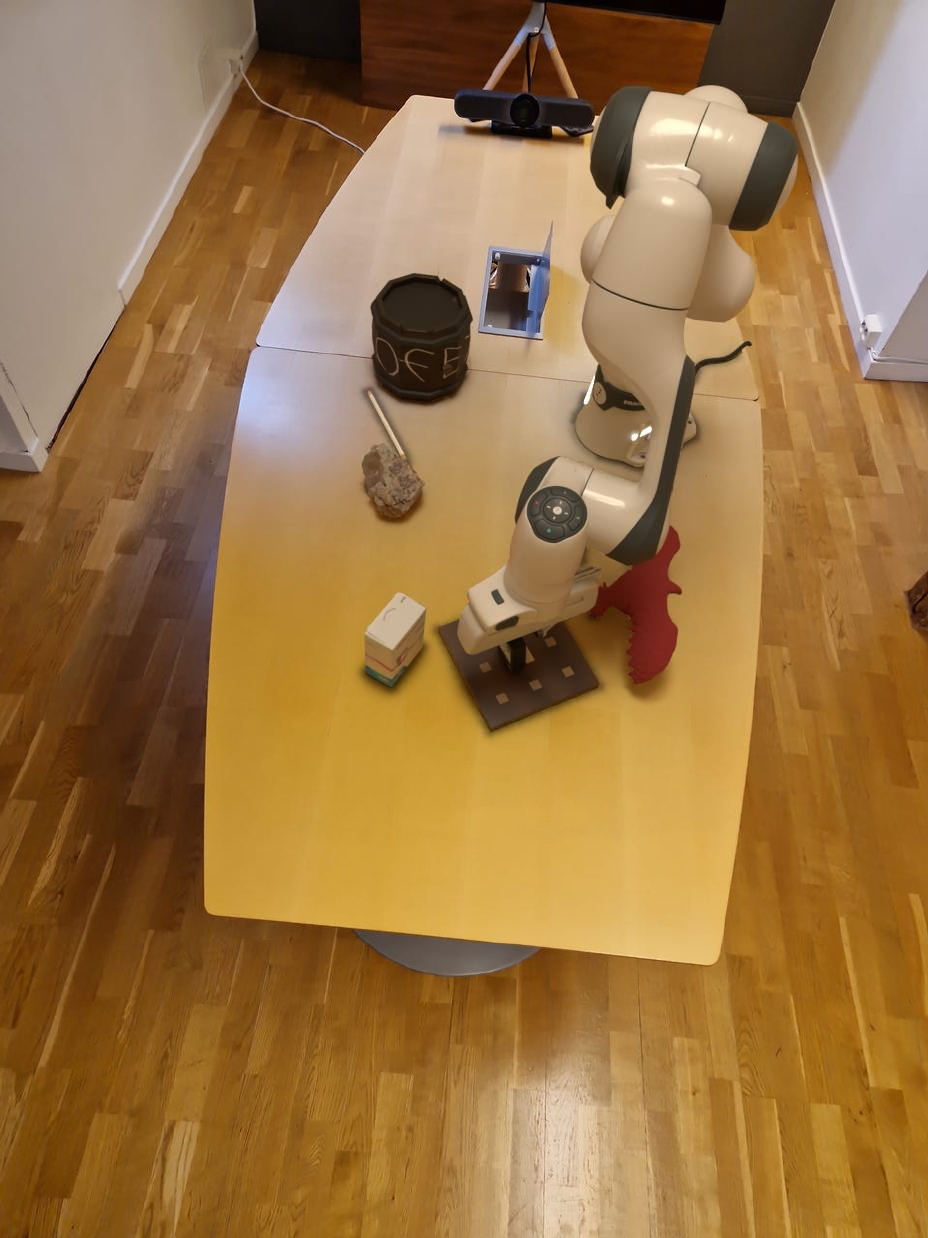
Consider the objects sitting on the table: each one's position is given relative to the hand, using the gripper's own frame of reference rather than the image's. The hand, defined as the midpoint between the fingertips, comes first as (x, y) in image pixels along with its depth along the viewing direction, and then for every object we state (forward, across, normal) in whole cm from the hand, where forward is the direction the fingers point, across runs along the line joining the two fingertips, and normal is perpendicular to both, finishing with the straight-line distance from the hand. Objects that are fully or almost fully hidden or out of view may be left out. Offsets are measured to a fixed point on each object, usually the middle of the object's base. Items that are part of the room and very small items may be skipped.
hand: (521, 640), depth 118 cm
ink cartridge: (+5, +1, 0) cm, 5 cm away
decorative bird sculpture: (+6, -20, 0) cm, 21 cm away
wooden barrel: (+6, -11, -61) cm, 62 cm away
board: (+6, 0, 0) cm, 6 cm away
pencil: (+6, 0, -51) cm, 51 cm away
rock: (+6, +6, -35) cm, 36 cm away
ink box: (+6, +17, -7) cm, 19 cm away
